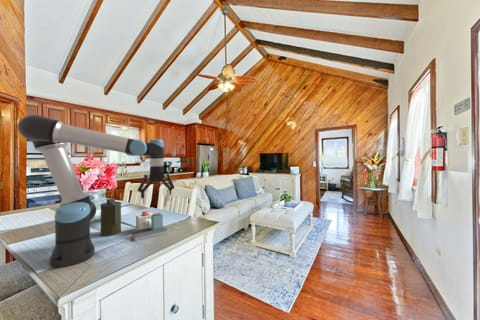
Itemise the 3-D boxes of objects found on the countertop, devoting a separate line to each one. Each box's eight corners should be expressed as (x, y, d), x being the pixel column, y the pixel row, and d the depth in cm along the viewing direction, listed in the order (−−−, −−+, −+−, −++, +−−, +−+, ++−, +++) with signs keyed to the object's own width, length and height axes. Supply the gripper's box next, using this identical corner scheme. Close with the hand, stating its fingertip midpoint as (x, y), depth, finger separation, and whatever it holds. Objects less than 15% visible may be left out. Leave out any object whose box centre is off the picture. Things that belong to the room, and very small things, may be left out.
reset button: (143, 219, 119) (143, 212, 119) (141, 218, 122) (141, 211, 122) (149, 218, 122) (149, 211, 122) (147, 217, 124) (147, 210, 124)
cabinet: (139, 233, 115) (139, 218, 115) (135, 229, 122) (135, 214, 122) (155, 229, 121) (155, 215, 121) (151, 226, 128) (151, 212, 128)
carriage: (153, 232, 112) (153, 215, 112) (151, 230, 116) (151, 214, 116) (162, 230, 115) (162, 214, 115) (160, 228, 119) (160, 212, 119)
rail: (134, 240, 105) (134, 234, 105) (131, 236, 110) (131, 231, 110) (166, 233, 116) (166, 227, 116) (162, 229, 121) (162, 224, 121)
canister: (96, 234, 114) (96, 199, 114) (115, 228, 123) (114, 196, 123) (107, 237, 109) (107, 201, 109) (125, 231, 118) (125, 198, 118)
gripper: (134, 166, 105) (134, 206, 105) (180, 165, 121) (179, 200, 121) (131, 166, 110) (131, 204, 110) (175, 165, 126) (175, 198, 126)
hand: (156, 202), depth 115 cm, fingers open, 13 cm apart
